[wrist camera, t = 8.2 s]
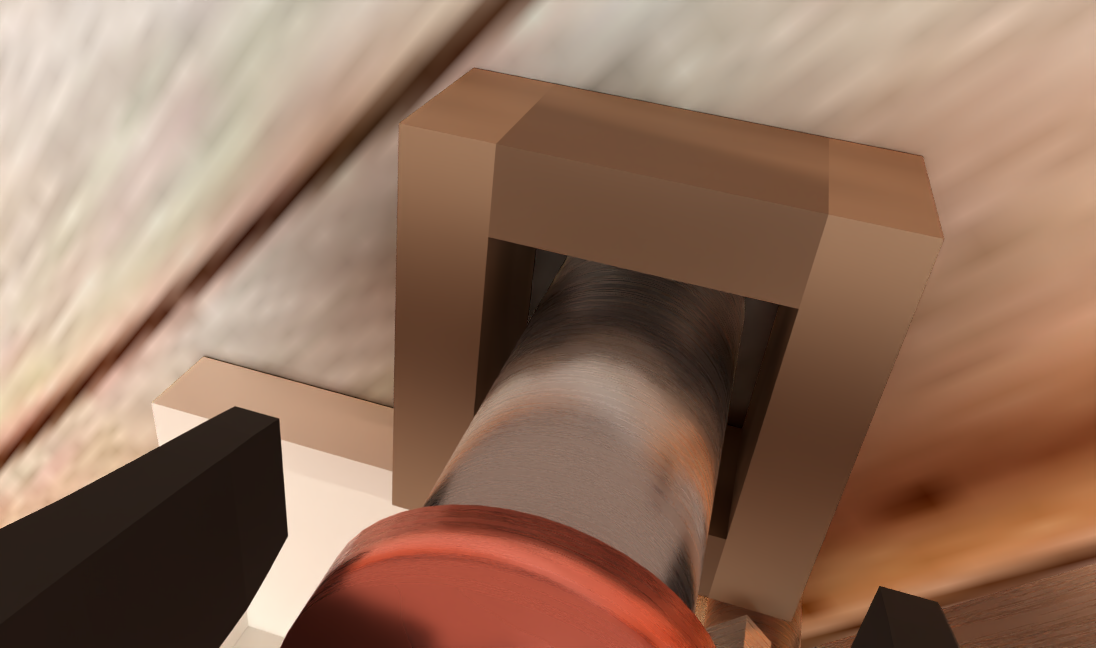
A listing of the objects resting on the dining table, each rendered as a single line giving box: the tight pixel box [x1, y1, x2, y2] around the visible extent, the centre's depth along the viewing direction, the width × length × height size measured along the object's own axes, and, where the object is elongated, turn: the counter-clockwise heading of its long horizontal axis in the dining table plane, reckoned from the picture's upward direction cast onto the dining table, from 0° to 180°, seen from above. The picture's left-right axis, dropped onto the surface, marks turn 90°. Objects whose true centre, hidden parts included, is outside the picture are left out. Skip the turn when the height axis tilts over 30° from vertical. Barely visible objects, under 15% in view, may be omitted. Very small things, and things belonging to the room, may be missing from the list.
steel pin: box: [280, 256, 745, 648], centre depth 12 cm, size 4×4×9 cm
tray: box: [152, 357, 408, 648], centre depth 20 cm, size 9×9×2 cm
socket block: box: [392, 68, 944, 622], centre depth 14 cm, size 7×7×3 cm
